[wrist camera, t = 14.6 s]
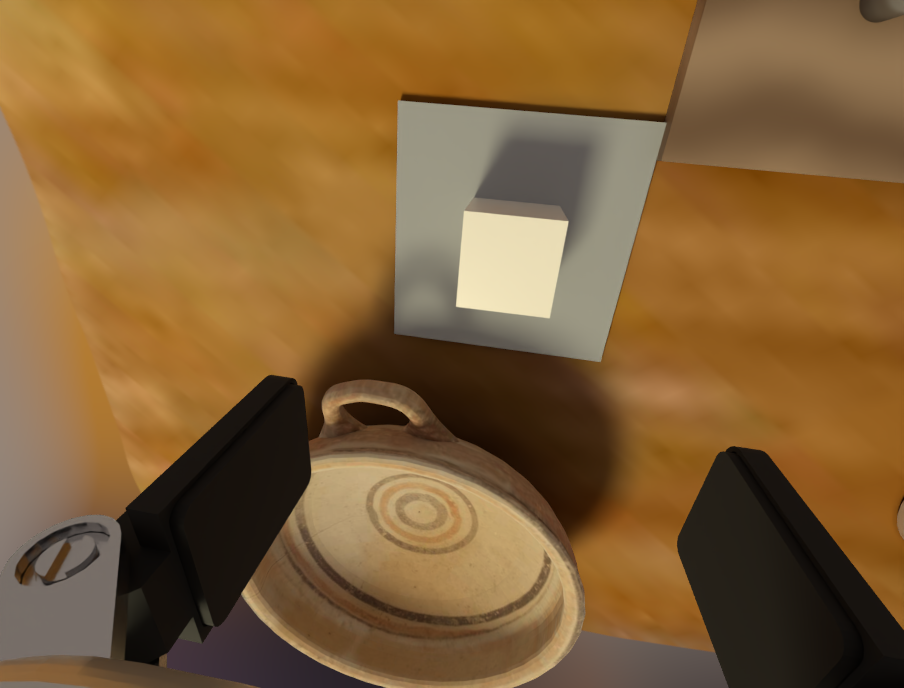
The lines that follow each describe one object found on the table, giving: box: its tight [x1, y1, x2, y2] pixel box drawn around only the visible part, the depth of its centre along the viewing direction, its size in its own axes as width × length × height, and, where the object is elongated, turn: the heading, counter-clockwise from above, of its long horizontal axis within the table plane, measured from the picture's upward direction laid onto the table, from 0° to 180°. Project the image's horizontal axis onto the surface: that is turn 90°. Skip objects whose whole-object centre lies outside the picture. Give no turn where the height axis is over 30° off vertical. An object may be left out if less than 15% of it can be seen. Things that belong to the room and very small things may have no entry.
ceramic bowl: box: [241, 380, 585, 688], centre depth 37 cm, size 37×29×10 cm
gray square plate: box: [394, 101, 666, 362], centre depth 29 cm, size 16×16×1 cm
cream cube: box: [456, 197, 569, 318], centre depth 26 cm, size 6×6×6 cm
